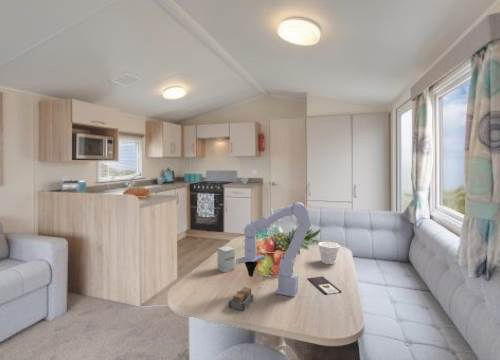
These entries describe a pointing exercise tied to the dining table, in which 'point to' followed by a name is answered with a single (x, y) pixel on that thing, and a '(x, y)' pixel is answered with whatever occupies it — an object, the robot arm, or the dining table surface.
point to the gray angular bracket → (240, 305)
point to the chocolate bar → (324, 285)
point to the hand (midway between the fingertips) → (250, 275)
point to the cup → (328, 252)
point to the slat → (242, 295)
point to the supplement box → (226, 259)
